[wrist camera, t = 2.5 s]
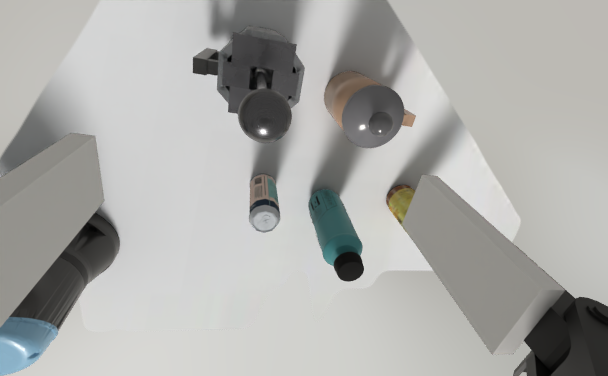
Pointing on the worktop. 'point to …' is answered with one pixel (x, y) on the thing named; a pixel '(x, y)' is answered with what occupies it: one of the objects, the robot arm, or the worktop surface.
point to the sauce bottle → (400, 201)
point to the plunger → (264, 109)
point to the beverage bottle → (336, 235)
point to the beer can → (263, 203)
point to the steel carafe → (253, 52)
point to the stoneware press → (365, 109)
